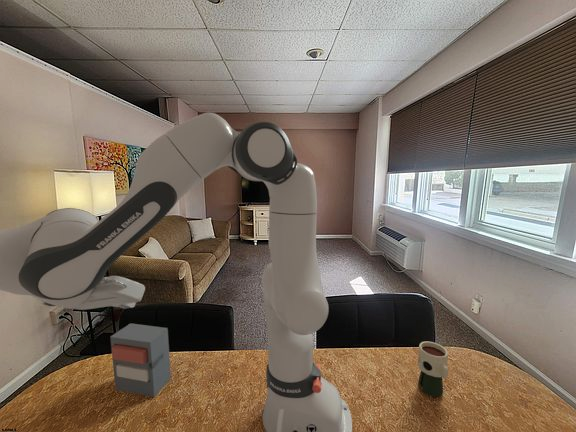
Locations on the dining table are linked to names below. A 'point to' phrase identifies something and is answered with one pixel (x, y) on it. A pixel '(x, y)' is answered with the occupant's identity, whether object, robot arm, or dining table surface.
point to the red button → (130, 353)
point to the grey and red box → (157, 358)
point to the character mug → (432, 368)
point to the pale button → (133, 372)
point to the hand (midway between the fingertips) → (131, 304)
